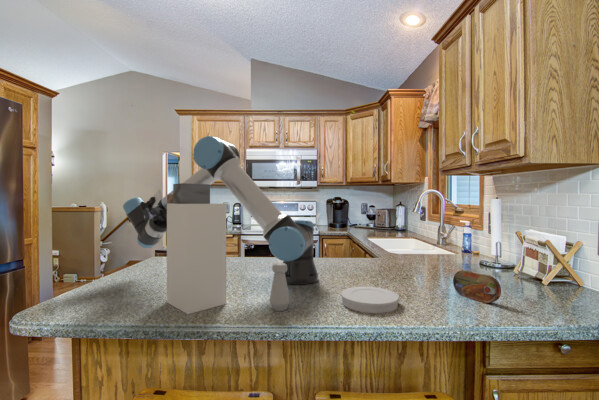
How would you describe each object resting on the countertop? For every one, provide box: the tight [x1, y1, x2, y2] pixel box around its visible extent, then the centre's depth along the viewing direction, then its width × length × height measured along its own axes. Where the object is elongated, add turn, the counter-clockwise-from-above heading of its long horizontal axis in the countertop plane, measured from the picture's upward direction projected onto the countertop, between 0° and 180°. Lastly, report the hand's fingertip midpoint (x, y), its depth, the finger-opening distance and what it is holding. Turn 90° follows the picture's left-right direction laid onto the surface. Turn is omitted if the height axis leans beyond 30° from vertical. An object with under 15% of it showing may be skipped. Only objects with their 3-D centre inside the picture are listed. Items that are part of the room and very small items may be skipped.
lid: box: [340, 286, 400, 314], centre depth 96 cm, size 17×20×3 cm
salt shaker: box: [269, 262, 291, 312], centre depth 90 cm, size 6×6×13 cm
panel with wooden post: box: [166, 182, 211, 204], centre depth 101 cm, size 18×9×6 cm, turn 45°
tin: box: [452, 269, 502, 304], centre depth 99 cm, size 15×3×8 cm, turn 23°
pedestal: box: [166, 203, 227, 315], centre depth 94 cm, size 14×12×30 cm
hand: (181, 193), depth 102 cm, fingers open, 13 cm apart
